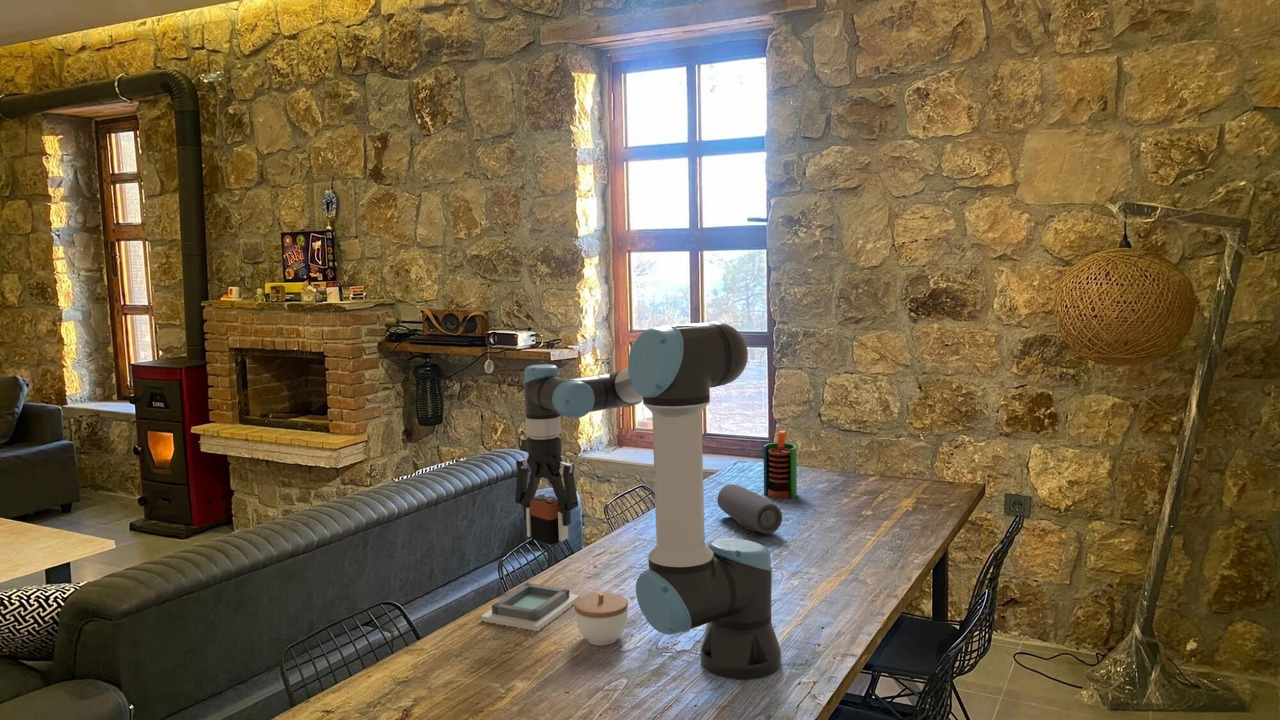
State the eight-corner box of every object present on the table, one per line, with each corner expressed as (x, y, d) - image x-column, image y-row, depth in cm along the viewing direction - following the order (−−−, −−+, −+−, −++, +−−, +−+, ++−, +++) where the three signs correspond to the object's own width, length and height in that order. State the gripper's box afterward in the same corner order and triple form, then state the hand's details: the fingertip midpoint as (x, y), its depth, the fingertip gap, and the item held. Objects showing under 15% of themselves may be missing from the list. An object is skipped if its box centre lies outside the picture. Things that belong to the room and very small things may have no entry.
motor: (762, 497, 283) (761, 434, 281) (766, 490, 292) (766, 428, 289) (795, 499, 280) (794, 435, 278) (798, 492, 289) (798, 429, 286)
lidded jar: (600, 623, 192) (598, 580, 191) (639, 636, 185) (638, 592, 184) (564, 641, 184) (562, 596, 182) (604, 655, 177) (603, 609, 176)
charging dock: (537, 631, 188) (536, 617, 188) (481, 621, 194) (480, 607, 194) (579, 600, 205) (579, 587, 204) (526, 591, 211) (526, 579, 210)
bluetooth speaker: (784, 535, 246) (784, 499, 245) (754, 540, 243) (753, 504, 242) (744, 513, 267) (744, 480, 266) (715, 517, 264) (715, 484, 263)
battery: (550, 545, 198) (548, 501, 197) (530, 539, 203) (528, 495, 202) (565, 541, 201) (564, 496, 200) (545, 534, 206) (544, 491, 205)
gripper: (593, 435, 198) (596, 537, 201) (514, 429, 207) (518, 527, 210) (575, 442, 191) (578, 548, 194) (495, 435, 200) (499, 536, 203)
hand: (547, 537), depth 202 cm, fingers closed on battery, 7 cm apart
